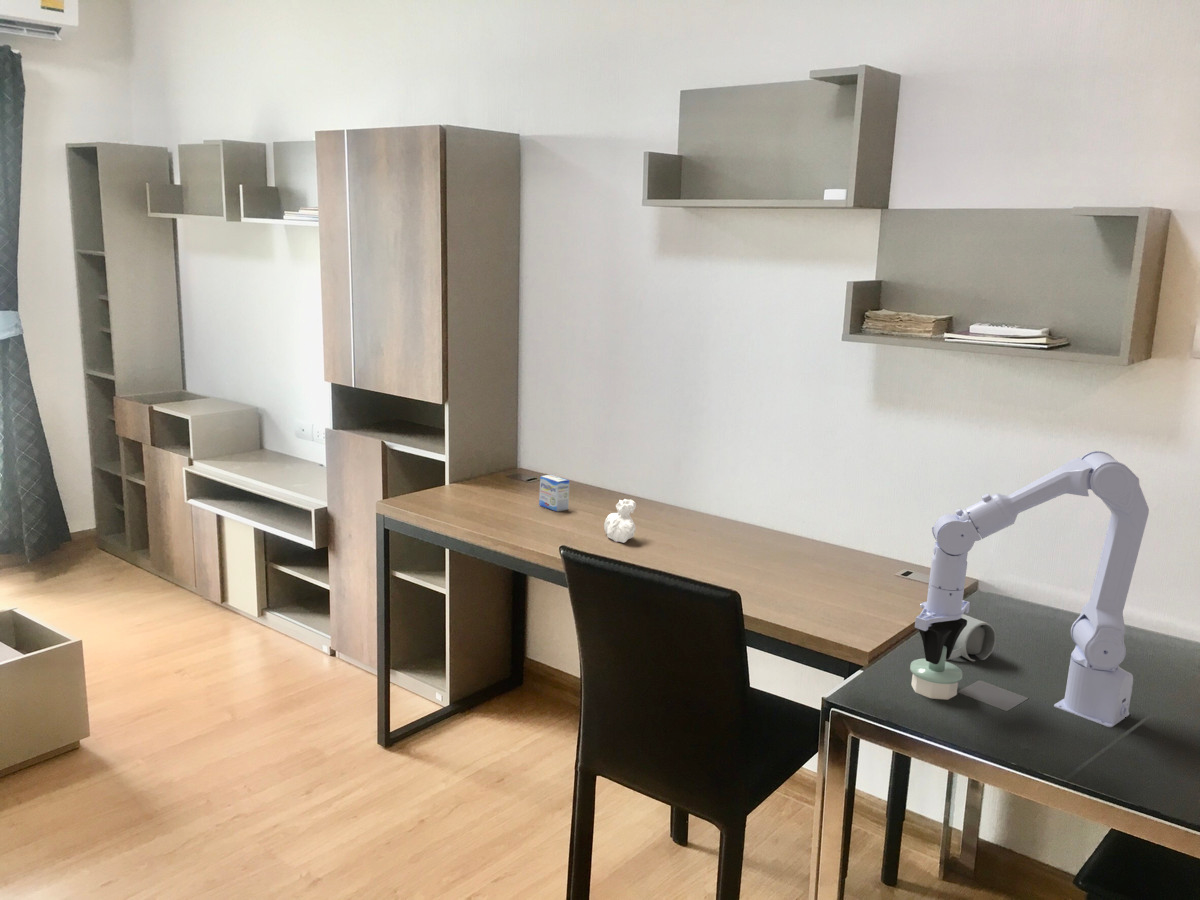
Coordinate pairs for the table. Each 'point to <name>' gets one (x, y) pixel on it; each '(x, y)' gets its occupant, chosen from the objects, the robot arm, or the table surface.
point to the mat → (993, 695)
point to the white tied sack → (621, 522)
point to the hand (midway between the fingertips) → (937, 659)
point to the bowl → (934, 688)
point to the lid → (937, 670)
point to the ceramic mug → (974, 640)
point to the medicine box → (554, 493)
